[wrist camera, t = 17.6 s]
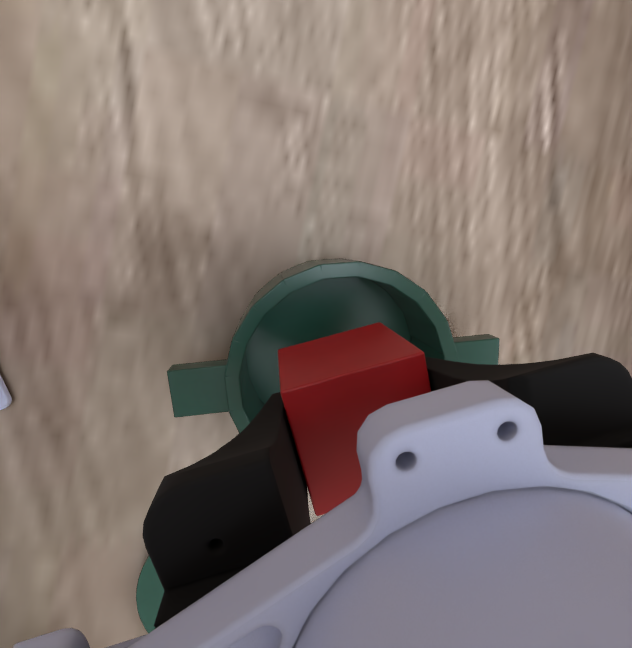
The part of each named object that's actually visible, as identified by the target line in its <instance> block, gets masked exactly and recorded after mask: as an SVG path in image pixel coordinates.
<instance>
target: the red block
mask: <svg viewBox="0 0 632 648" xmlns="http://www.w3.org/2000/svg"><path fill="white" fill-rule="evenodd" d="M278 364H279V379H280V393H281V397H282V400H283V404H284V407H285V411H286V414H287V418H288V421H289V425H290V428H291V432H292V435H293V439H294V442H295V445H296V449H297V452H298V456H299V459H300V463H301V466H302V470H303V473H304V477H305V480H306V484H307V487H308V491H309V494H310V497H311V501H312V504H313V508H314V511H315V514H316V515H317V516H319V515H323V514H326V513H328V512H329V511H330V510H332V509H333V508H335V507H336V506H338V505H339V504H341V503H342V502H344V501H345V500H347V499H348V498H350V497H351V496H353V495H354V494H355V493H356V492H357V491H358V489H359V487H360V486H361V481H362V473H361V467H360V463H359V459H358V455H357V432H358V430H359V429H360V427H361V426H362V424H363V423H364V421H365V419H366V418H367V416H368V415H369V414H371V413H373V412H374V411H376V410H378V409H380V408H381V407H383V406H385V405H387V404H390V403H394V402H397V401H401V400H404V399H408V398H411V397H415V396H418V395H422V394H425V393H429V392H431V387H430V382H429V376H428V371H427V365H426V359H425V354H424V352H423V351H422V350H420V349H419V348H417V347H416V346H414V345H413V344H411V343H410V342H408V341H407V340H406V339H404V338H403V337H401V336H400V335H398V334H397V333H395V332H394V331H392V330H391V329H389V328H388V327H386V326H385V325H383V324H382V323H381V322H378V323H374V324H371V325H367V326H363V327H360V328H356V329H352V330H349V331H345V332H341V333H337V334H334V335H330V336H326V337H323V338H319V339H315V340H312V341H308V342H304V343H300V344H297V345H293V346H289V347H286V348H282V349H279V350H278Z"/></svg>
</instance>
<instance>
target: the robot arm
mask: <svg viewBox="0 0 632 648" xmlns="http://www.w3.org/2000/svg"><path fill="white" fill-rule="evenodd" d="M425 359H426V365H427V371H428V376H429V382H430V387H431V392H429V393H425V394H422V395H418V396H415V397H411V398H408V399H404V400H401V401H397V402H394V403H390V404H387V405H385V406H383V407H381V408H380V409H378V410H376V411H374V412H373V413H371V414H369V415H368V416H367V418H366V419H365V421H364V423H363V424H362V426H361V427H360V429H359V430H358V432H357V455H358V459H359V463H360V467H361V473H362V481H361V486H360V487H359V489H358V491H357V492H356V493H355V494H354V495H353V496H351V497H350V498H348V499H347V500H345V501H344V502H342V503H341V504H339V505H338V506H336V507H335V508H333V509H332V510H330V511H329V512H328V513H326V514H325V515H323V516H322V517H320V518H319V519H317V520H316V521H314V522H313V523H311V522H310V517H309V508H308V494H307V484H306V480H305V477H304V473H303V470H302V466H301V463H300V459H299V456H298V452H297V449H296V445H295V442H294V439H293V435H292V432H291V428H290V425H289V421H288V418H287V414H286V411H285V407H284V404H283V400H282V397H281V393H280V392H278V393H274V394H272V395H271V397H270V398H269V399H268V401H267V402H266V404H265V405H264V406H263V408H262V409H261V410H260V412H259V413H258V414H257V415H256V416H255V418H254V419H253V420H252V421H251V422H250V423H249V425H248V426H247V427H246V428H245V429H244V430H243V431H242V432H241V433H239V434H238V435H237V436H236V437H235V438H234V439H232V440H231V441H230V442H228V443H227V444H226V445H224V446H223V447H221V448H220V449H219V450H217V451H216V452H214V453H213V454H211V455H209V456H207V457H206V458H204V459H202V460H200V461H198V462H196V463H194V464H192V465H190V466H188V467H186V468H184V469H181V470H179V471H176V472H174V473H172V474H169V475H167V476H165V477H164V479H163V480H162V482H161V484H160V486H159V488H158V490H157V493H156V495H155V497H154V499H153V501H152V504H151V506H150V508H149V510H148V513H147V515H146V518H145V520H144V524H143V539H144V543H145V546H146V549H147V552H148V554H149V556H150V559H151V561H152V563H153V566H154V568H155V570H156V572H157V575H158V577H159V579H160V582H161V584H162V586H163V588H164V590H165V591H164V594H163V597H162V600H161V604H160V607H159V610H158V613H157V617H156V620H155V623H154V627H155V629H154V630H153V631H151V632H150V633H148V634H147V635H144V636H141V637H137V638H134V639H131V640H128V641H125V642H122V643H119V644H115V645H112V646H109V647H106V648H632V378H631V376H630V374H629V372H628V370H627V369H626V368H625V367H624V366H623V365H622V364H621V363H619V362H617V361H615V360H613V359H611V358H608V357H605V356H602V355H599V354H596V353H589V354H584V355H579V356H574V357H569V358H564V359H559V360H552V361H545V362H537V363H527V364H509V365H489V364H471V363H463V362H455V361H448V360H442V359H437V358H431V357H425ZM11 402H12V398H11V395H10V393H9V391H8V389H7V387H6V385H5V383H4V381H3V379H2V377H1V375H0V410H2V409H4V408H6V407H8V406H9V405H10V404H11ZM13 648H90V647H89V643H88V641H87V639H86V637H85V636H84V635H83V634H82V633H81V632H80V631H79V630H77V629H74V628H65V629H60V630H57V631H54V632H51V633H48V634H44V635H41V636H38V637H35V638H32V639H28V640H25V641H22V642H19V643H16V644H15V645H14V646H13Z"/></svg>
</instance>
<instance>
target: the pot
mask: <svg viewBox="0 0 632 648" xmlns="http://www.w3.org/2000/svg"><path fill="white" fill-rule="evenodd" d="M378 322H381V323H382V324H383V325H385V326H386V327H388V328H389V329H391V330H392V331H394V332H395V333H397V334H398V335H400V336H401V337H403V338H404V339H406V340H407V341H408V342H410V343H411V344H413V345H414V346H416V347H417V348H419V349H420V350H422V351H423V352H424V354H425V357H431V358H437V359H442V360H448V361H455V362H463V363H471V364H489V365H498V356H499V338H497V337H494V336H492V335H489V334H484V335H474V336H463V337H452V334H451V330H450V327H449V324H448V321H447V320H446V317H445V316H444V315H443V313H442V312H441V311H440V309H439V308H438V307H437V305H436V304H435V302H434V301H433V300H432V298H431V297H430V296H429V294H428V293H427V292H426V291H425V290H424V289H422V288H421V287H419V286H418V285H416V284H415V283H414V282H412V281H411V280H409V279H408V278H406V277H405V276H403V275H402V274H400V273H399V272H397V271H395V270H391V269H387V268H384V267H380V266H376V265H372V264H368V263H365V262H361V261H354V260H348V259H323V260H311V261H307V262H305V263H303V264H299V265H297V266H294V267H292V268H290V269H287V270H286V271H283V272H281V273H280V274H278V275H277V276H276V277H275V278H273V279H272V280H271V281H269V282H268V283H267V284H266V285H265V286H264V287H263V288H262V289H261V290H259V291H258V292H257V294H255V296H254V298H253V299H252V301H251V302H250V304H249V306H248V308H247V309H246V311H245V313H244V314H243V316H242V318H241V319H240V322H239V324H238V326H237V329H236V331H235V334H234V336H233V339H232V341H231V346H230V351H229V355H228V359H227V360H217V361H206V362H196V363H186V364H176V365H172V366H171V367H170V369H169V370H168V371H167V375H168V381H169V387H170V393H171V399H172V405H173V411H174V417H183V416H192V415H201V414H210V413H219V412H228V411H229V413H230V415H231V417H232V419H233V421H234V423H235V425H236V427H237V429H238V431H239V433H241V432H242V431H243V430H244V429H245V428H246V427H247V426H248V425H249V423H250V422H251V421H252V420H253V419H254V418H255V416H256V415H257V414H258V413H259V412H260V410H261V409H262V408H263V406H264V405H265V404H266V402H267V401H268V399H269V398H270V397H271V395H272V394H274V393H278V392H280V379H279V364H278V350H279V349H282V348H286V347H289V346H293V345H297V344H300V343H304V342H308V341H312V340H315V339H319V338H323V337H326V336H330V335H334V334H337V333H341V332H345V331H349V330H352V329H356V328H360V327H363V326H367V325H371V324H374V323H378Z"/></svg>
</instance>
